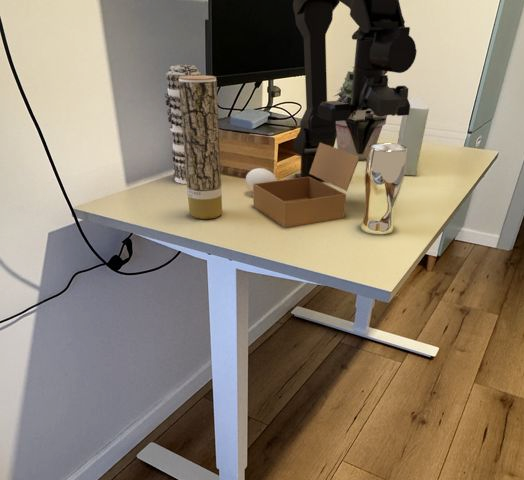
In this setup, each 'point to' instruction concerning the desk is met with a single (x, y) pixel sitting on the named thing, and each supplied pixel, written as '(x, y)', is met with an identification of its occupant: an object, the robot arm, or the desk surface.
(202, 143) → the paper tube
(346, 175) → the flap
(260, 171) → the stress ball
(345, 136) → the potted plant
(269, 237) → the desk surface
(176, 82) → the decorative candle
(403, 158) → the beer glass
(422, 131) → the skincare box
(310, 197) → the carton
